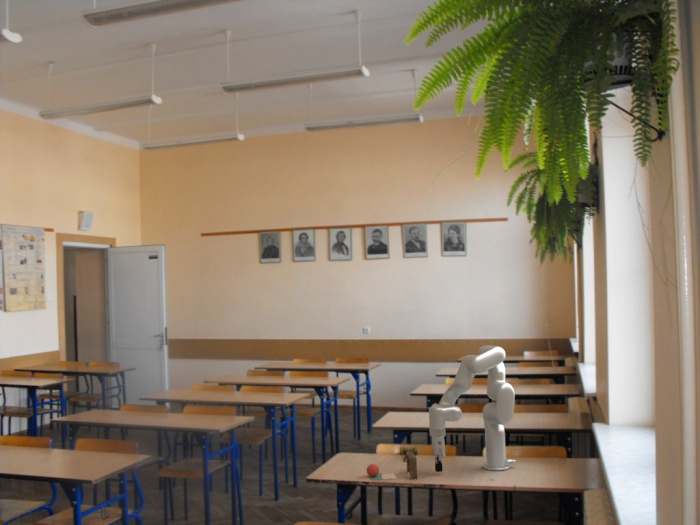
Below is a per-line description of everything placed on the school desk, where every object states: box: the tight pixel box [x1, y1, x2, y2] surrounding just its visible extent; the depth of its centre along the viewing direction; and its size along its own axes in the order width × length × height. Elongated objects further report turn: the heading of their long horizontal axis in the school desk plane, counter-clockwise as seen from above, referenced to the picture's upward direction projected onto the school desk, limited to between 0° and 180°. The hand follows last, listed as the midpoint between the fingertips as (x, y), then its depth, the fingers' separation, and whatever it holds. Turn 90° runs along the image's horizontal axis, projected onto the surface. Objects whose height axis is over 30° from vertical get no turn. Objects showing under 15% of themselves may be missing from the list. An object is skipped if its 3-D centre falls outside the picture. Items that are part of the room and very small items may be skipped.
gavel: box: [399, 446, 420, 462], centre depth 351 cm, size 21×5×10 cm
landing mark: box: [369, 472, 383, 481], centre depth 312 cm, size 12×12×1 cm
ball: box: [366, 463, 380, 477], centre depth 312 cm, size 6×6×6 cm
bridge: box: [405, 451, 418, 481], centre depth 313 cm, size 3×15×10 cm, turn 2°
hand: (438, 471), depth 313 cm, fingers closed
